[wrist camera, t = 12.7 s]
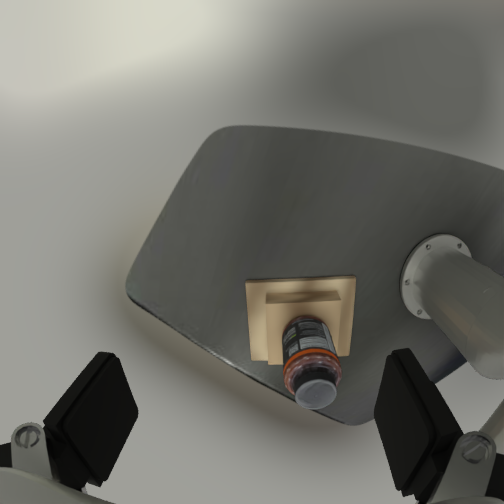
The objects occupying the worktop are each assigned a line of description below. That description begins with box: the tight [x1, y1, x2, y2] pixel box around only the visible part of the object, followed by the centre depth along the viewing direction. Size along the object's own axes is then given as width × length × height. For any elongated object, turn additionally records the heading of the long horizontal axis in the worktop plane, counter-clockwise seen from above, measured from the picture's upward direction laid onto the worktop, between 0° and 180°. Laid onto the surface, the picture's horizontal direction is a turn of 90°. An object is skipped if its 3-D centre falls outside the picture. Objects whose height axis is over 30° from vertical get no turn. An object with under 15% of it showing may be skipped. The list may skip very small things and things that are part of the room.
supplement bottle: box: [282, 316, 342, 409], centre depth 30 cm, size 6×6×11 cm
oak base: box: [246, 276, 356, 365], centre depth 38 cm, size 14×12×4 cm
